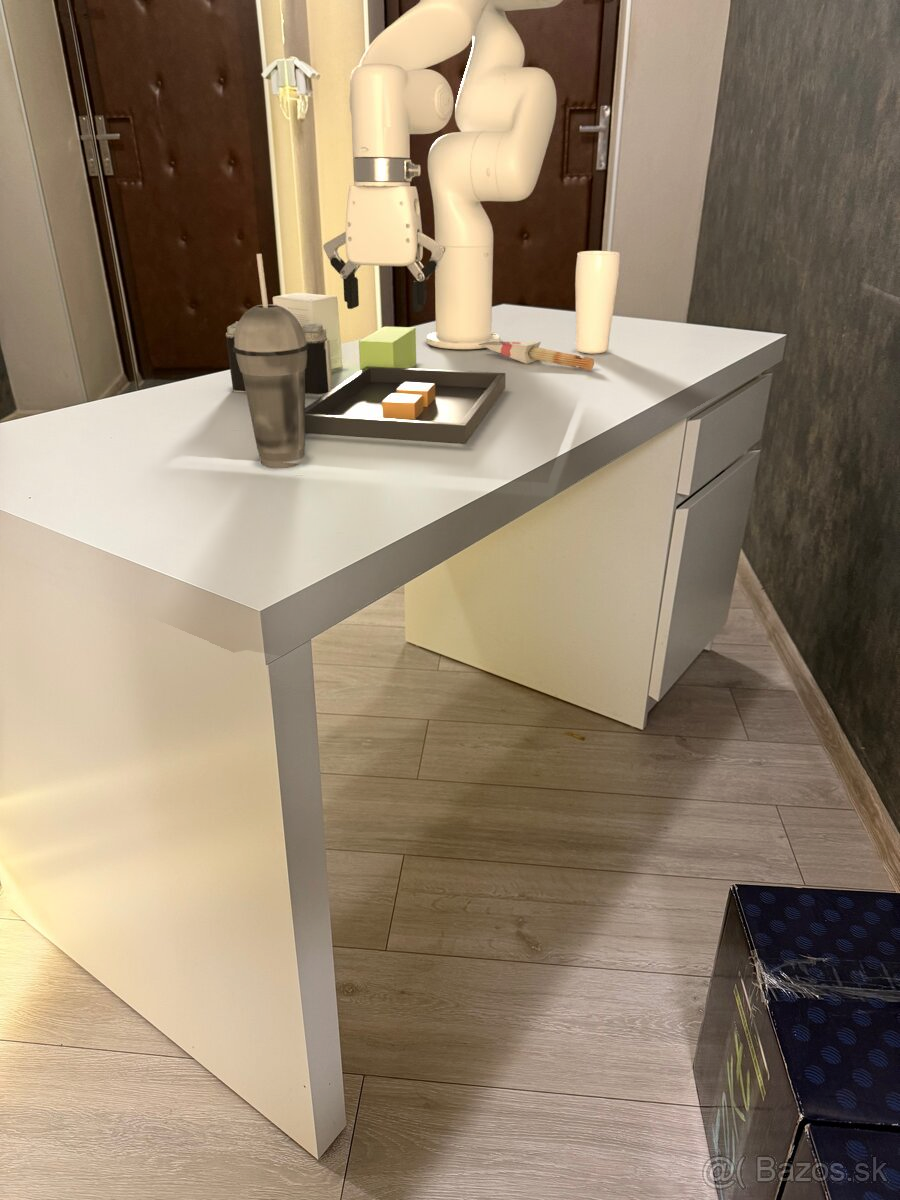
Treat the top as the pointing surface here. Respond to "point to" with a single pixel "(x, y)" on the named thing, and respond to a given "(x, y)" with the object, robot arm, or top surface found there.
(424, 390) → the block
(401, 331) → the sponge
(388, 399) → the block
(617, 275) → the drinking glass
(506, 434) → the top surface
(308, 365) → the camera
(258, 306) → the beverage cup
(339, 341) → the small box
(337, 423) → the pan
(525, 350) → the paintbrush
